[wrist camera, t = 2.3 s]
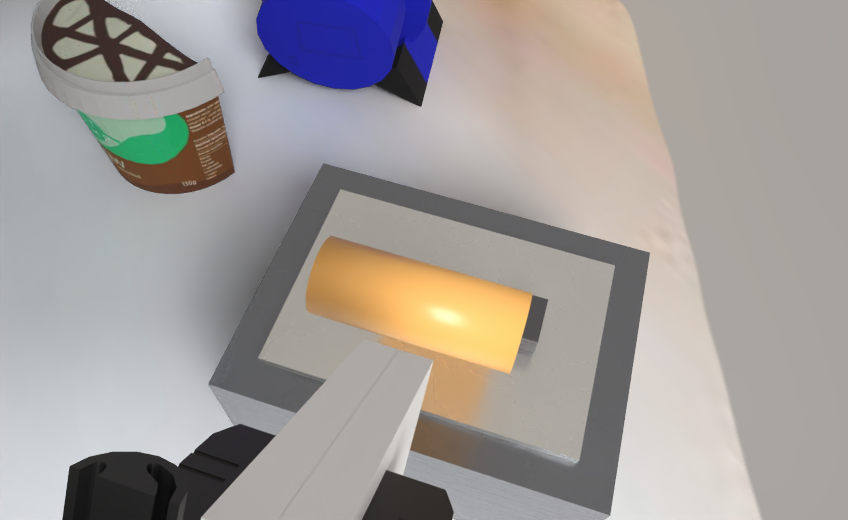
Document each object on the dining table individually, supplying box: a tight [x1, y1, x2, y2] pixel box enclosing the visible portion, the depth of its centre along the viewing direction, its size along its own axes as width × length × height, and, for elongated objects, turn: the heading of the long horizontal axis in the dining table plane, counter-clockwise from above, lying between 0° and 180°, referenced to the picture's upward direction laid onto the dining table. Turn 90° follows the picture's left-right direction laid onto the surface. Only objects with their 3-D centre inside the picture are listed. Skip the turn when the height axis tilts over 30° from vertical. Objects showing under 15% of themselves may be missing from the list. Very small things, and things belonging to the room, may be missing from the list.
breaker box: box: [208, 164, 650, 520], centre depth 31 cm, size 12×16×11 cm
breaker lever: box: [306, 236, 532, 374], centre depth 22 cm, size 2×6×10 cm, turn 74°
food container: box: [31, 0, 235, 194], centre depth 39 cm, size 12×6×10 cm, turn 51°
